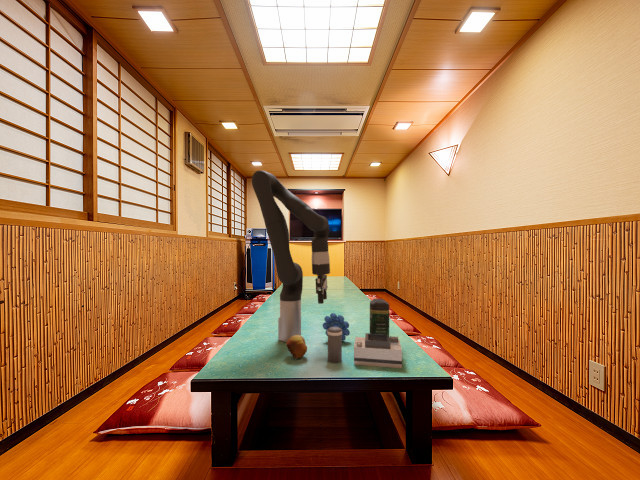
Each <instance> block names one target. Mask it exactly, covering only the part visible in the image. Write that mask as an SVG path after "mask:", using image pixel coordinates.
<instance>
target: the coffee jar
mask: <svg viewBox="0 0 640 480" xmlns="http://www.w3.org/2000/svg"><path fill="white" fill-rule="evenodd" d="M369 333H371V334H388V335H389V336H390V304H389V302H388V301H386V300H384V299H383V298H373V299H371V300H370V301H369Z"/></svg>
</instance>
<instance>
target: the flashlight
mask: <svg viewBox="0 0 640 480" xmlns="http://www.w3.org/2000/svg"><path fill="white" fill-rule="evenodd" d="M327 334H328V336H327V362H329V363H330V364H331V363H332V364H339V363H341V362H342V361H343V358H342V357H343V356H342V355H343V354H342V353H343V347H342V345H343V343H342V342H343V341H342V329H341V328H339V327H330V328H328V330H327Z"/></svg>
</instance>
